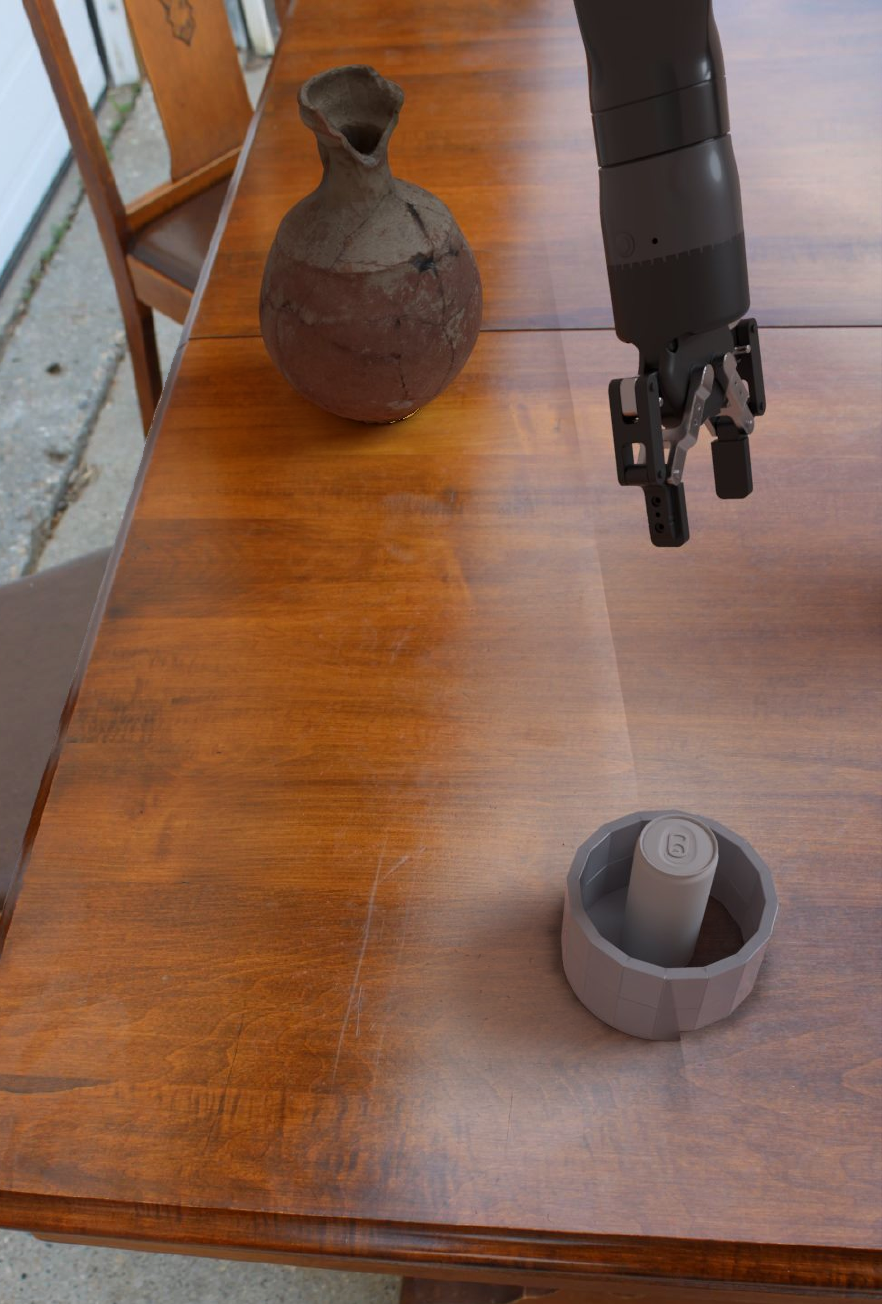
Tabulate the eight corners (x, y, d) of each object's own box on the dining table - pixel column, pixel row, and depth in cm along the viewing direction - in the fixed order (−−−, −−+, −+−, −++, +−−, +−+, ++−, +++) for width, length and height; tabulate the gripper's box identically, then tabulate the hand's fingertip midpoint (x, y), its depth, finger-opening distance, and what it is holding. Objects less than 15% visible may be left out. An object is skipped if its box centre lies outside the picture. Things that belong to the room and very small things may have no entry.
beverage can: (615, 974, 79) (633, 871, 70) (622, 914, 82) (640, 807, 73) (690, 986, 78) (718, 883, 69) (695, 925, 81) (722, 817, 72)
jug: (347, 493, 114) (310, 169, 91) (234, 396, 126) (176, 87, 103) (526, 405, 120) (535, 79, 97) (402, 320, 132) (384, 11, 109)
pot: (735, 876, 84) (755, 805, 78) (771, 1038, 76) (797, 975, 70) (553, 882, 85) (559, 814, 79) (571, 1043, 77) (578, 982, 71)
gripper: (673, 258, 60) (707, 564, 68) (792, 202, 69) (811, 480, 76) (547, 280, 65) (592, 562, 73) (673, 226, 74) (701, 484, 81)
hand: (704, 520), depth 74 cm, fingers open, 8 cm apart
